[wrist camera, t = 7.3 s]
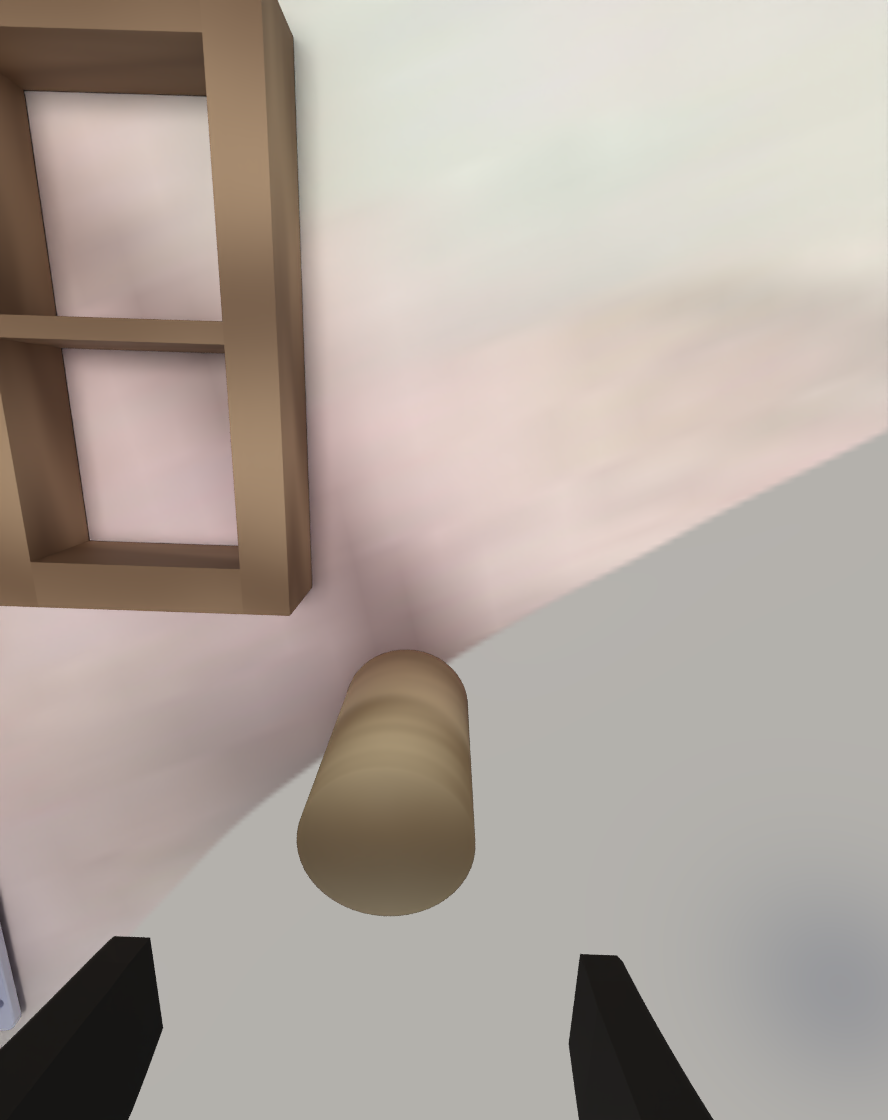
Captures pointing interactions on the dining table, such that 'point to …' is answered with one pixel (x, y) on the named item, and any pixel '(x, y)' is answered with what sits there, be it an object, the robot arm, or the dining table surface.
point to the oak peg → (393, 790)
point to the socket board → (244, 335)
